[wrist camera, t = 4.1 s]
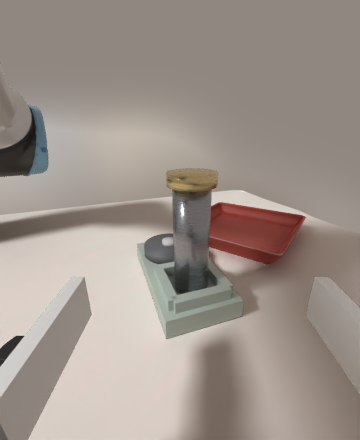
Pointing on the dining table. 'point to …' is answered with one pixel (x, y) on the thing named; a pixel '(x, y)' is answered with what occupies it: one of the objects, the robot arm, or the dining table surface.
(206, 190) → the pin
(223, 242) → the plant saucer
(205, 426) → the dining table surface
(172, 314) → the base
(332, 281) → the robot arm
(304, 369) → the dining table surface
